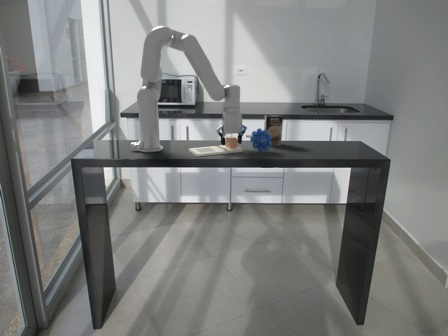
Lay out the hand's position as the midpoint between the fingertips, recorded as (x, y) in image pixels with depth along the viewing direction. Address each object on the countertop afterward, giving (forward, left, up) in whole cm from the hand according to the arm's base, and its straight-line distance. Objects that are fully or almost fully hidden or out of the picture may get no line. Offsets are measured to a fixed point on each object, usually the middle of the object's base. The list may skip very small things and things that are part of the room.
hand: (231, 144), depth 182 cm
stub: (-1, 0, -3) cm, 3 cm away
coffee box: (+26, +2, -3) cm, 26 cm away
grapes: (+12, -10, -3) cm, 16 cm away
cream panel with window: (-13, 0, -3) cm, 13 cm away
